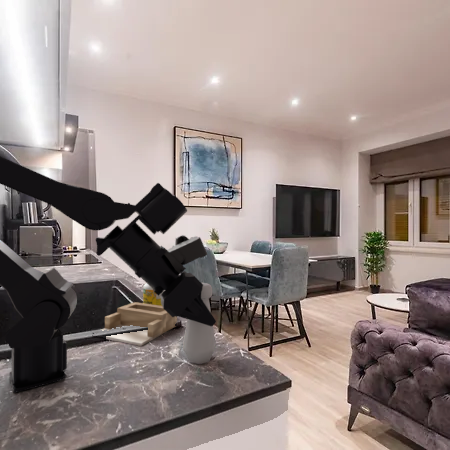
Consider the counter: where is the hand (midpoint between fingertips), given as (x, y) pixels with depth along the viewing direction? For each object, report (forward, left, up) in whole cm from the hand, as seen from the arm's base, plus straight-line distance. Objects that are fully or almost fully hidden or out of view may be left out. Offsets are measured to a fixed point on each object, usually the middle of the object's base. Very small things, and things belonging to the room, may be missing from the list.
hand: (207, 316), depth 54 cm
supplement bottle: (+5, +31, -7) cm, 32 cm away
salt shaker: (-1, +1, -7) cm, 7 cm away
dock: (-4, +20, -7) cm, 22 cm away
